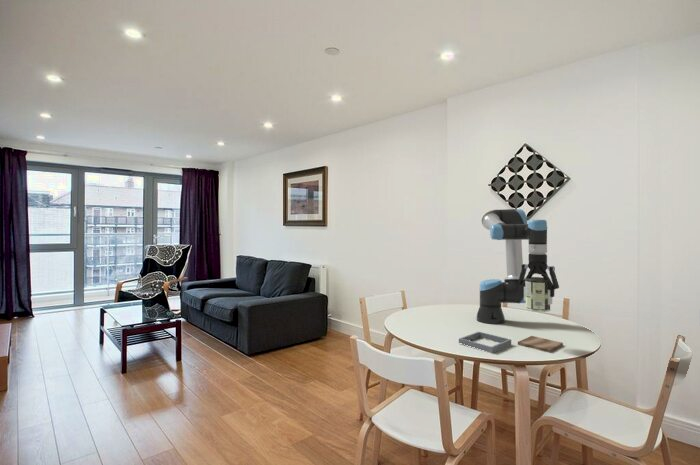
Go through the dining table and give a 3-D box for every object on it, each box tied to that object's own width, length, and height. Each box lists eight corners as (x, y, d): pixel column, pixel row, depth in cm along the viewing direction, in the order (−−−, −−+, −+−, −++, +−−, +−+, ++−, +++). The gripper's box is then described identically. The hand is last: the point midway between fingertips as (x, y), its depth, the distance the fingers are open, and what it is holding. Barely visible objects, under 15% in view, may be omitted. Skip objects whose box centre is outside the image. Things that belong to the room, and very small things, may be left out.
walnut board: (517, 344, 167) (517, 341, 167) (531, 338, 176) (531, 335, 176) (549, 352, 156) (549, 349, 156) (562, 345, 165) (562, 342, 165)
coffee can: (541, 306, 171) (541, 276, 171) (555, 311, 161) (555, 280, 161) (520, 306, 171) (520, 277, 170) (533, 312, 160) (533, 280, 160)
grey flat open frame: (458, 343, 169) (458, 338, 169) (478, 336, 180) (478, 331, 180) (492, 353, 156) (492, 347, 156) (511, 344, 167) (511, 339, 167)
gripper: (509, 252, 172) (509, 299, 172) (560, 255, 154) (560, 307, 155) (517, 251, 177) (517, 297, 177) (568, 254, 159) (568, 305, 159)
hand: (537, 302), depth 166 cm, fingers closed on coffee can, 10 cm apart
